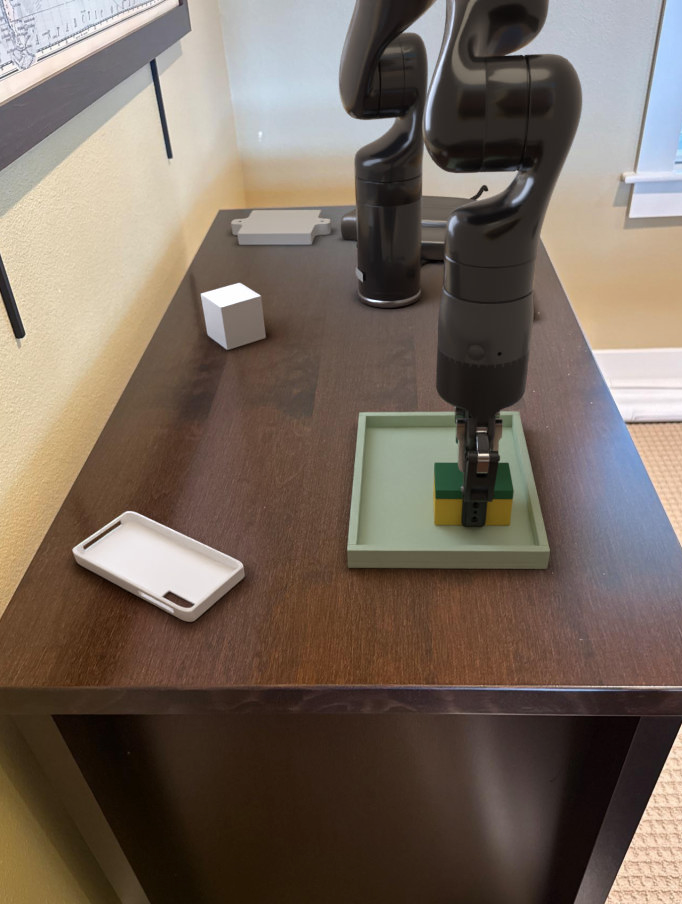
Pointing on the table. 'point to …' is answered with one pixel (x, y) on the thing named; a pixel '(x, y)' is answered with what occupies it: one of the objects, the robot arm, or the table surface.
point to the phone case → (160, 564)
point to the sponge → (450, 495)
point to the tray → (411, 499)
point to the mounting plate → (280, 227)
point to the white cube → (233, 315)
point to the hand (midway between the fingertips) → (471, 507)
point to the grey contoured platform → (432, 224)
